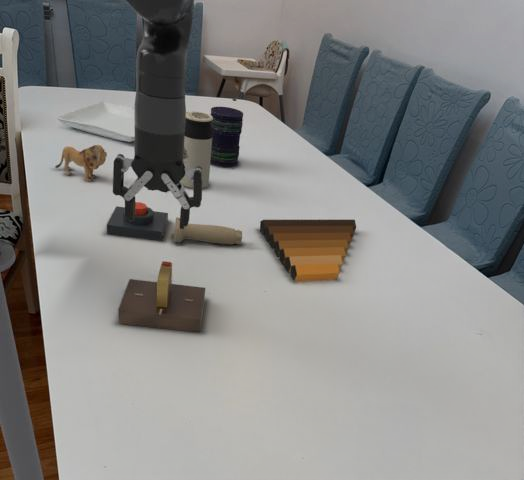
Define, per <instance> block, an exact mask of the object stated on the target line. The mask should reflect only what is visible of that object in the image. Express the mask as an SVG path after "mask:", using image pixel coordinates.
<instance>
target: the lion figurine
mask: <svg viewBox="0 0 524 480" xmlns="http://www.w3.org/2000/svg"><path fill="white" fill-rule="evenodd" d="M107 157H108V152H106V151H105V148H104V147H103V146H102V145H101V144H94V145H92V146H89V147H87V148H83V150H81V151H80V150H77V149H76V148H75V147H73V146H68V145H66V146H65V147H64V148H63V149H62V152H61V159H60V162H59V164H56V165H55V166H54V167H55V168H56V169H59V168H60V167H61V166H62V165H63V163H64V169H65V174H66V176H71V175H72V172H71V171H70V170H71V168H70V166H69V164H70V163H72V162H73V163H74V164H75V165H76V166H78V167H80V168H81V167H82V168H83V170H84V173H85V180H86V181H87V182H92V180H93V179H95V178H96V175H95V174H93V173H94V170H97V169H99V167H100V166H103V165H104V164H105V162H106V160H107Z"/></svg>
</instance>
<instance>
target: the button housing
mask: <svg viewBox="0 0 524 480" xmlns="http://www.w3.org/2000/svg"><path fill="white" fill-rule="evenodd" d="M168 222H169V212H163V211H156V210H153V209H152V208H151V207H148V206H147V214H145V215H135V219H134V221H133V222H132V221H129V218H127V217H126V216H125V206H118V205H116V206H115V208H114V210H113V212H112V213H111V215H110V218H109V219H108V221H107V223H106V234H107V235H114V236H119V237H120V236H121V237H128V238H137V239H144V240H145V239H146V240H152V241H154V240H155V241H163V238H164V235H165V232H166V228H167V226H168Z"/></svg>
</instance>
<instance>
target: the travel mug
mask: <svg viewBox="0 0 524 480" xmlns="http://www.w3.org/2000/svg"><path fill="white" fill-rule="evenodd" d="M212 120H213V117H212V116H211V114H210V113H206V112H202V111H195V110H193V111H186V126H185V138H184V156H183V162H184V165H185V168H196V167H198V166H199V167H201V168H202V189H203V188H206V187H207V188H208V186H209V183H210V172H211V171H210V170H211V164H210V160H211V148H212V136H213V130H212V127H211V121H212ZM180 182H181V183H182V185H183V186H184V187H185V188H189V189H193V183H191V182H190V181H189V177H188V176H186V175H185V176H184V177H183V178H182V179H181V181H180Z"/></svg>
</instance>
